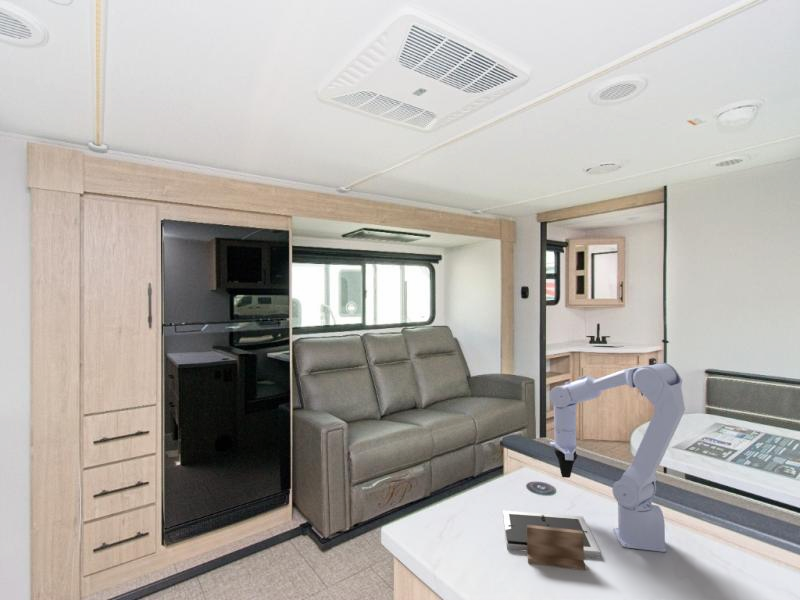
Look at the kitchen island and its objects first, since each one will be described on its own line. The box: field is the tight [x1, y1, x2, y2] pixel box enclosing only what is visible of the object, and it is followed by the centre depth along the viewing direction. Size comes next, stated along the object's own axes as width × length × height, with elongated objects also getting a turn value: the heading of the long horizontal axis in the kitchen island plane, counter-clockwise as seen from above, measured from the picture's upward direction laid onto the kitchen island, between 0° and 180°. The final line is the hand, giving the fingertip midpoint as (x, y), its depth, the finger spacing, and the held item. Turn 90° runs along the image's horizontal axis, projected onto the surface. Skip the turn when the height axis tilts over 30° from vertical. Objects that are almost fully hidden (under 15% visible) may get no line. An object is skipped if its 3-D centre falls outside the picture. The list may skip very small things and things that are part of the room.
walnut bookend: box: [526, 525, 587, 571], centre depth 92 cm, size 12×3×7 cm, turn 76°
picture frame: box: [502, 510, 602, 559], centre depth 103 cm, size 16×3×21 cm
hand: (565, 476), depth 115 cm, fingers closed
